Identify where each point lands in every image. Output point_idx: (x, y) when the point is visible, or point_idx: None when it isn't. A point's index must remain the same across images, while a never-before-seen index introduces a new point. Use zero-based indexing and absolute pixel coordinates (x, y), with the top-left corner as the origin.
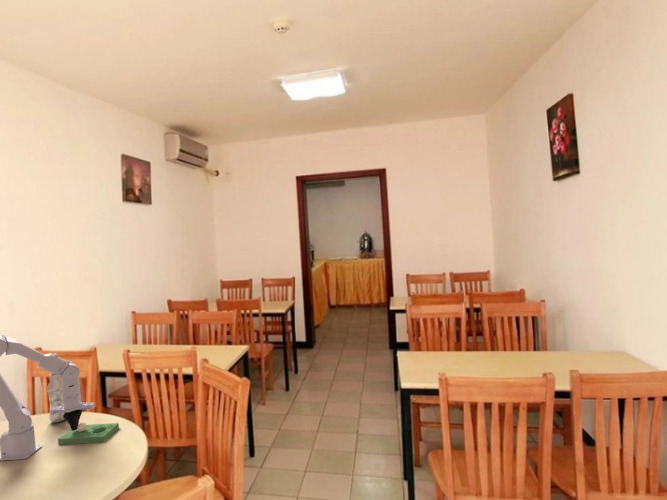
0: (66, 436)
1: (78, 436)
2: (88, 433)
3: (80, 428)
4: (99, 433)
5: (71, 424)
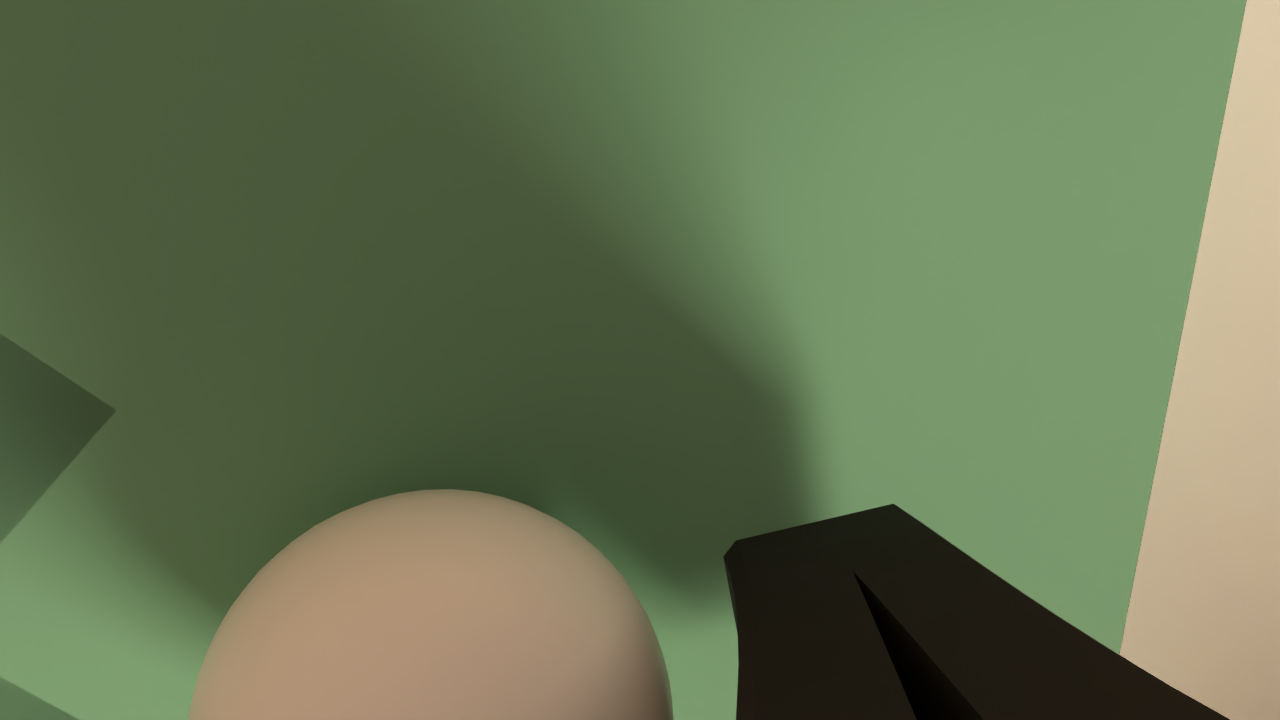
0: (948, 149)
1: (246, 105)
2: None
3: (363, 563)
4: None
5: (1006, 707)
